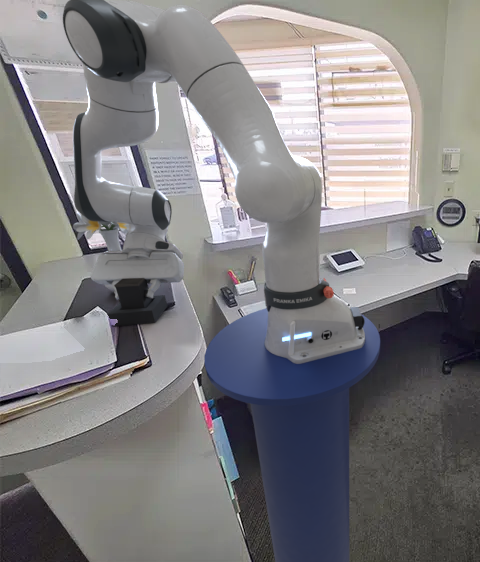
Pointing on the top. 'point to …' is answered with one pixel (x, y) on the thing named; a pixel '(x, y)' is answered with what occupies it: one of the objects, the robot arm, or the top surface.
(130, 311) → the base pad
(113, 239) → the flower vase
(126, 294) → the black tall block
